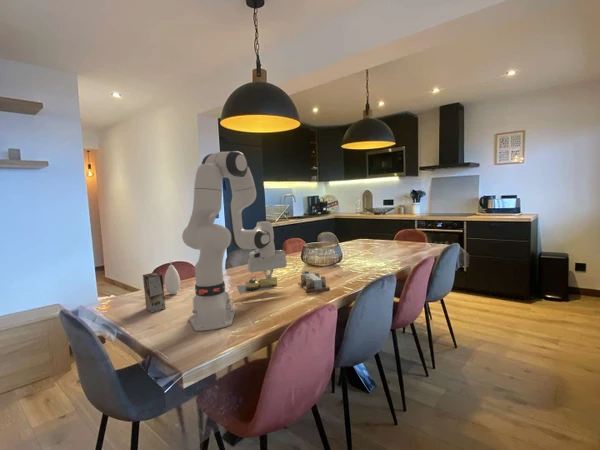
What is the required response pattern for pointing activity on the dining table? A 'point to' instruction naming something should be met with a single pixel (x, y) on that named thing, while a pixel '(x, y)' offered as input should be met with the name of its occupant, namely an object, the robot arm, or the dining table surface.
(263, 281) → the khaki elongated piece
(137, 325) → the dining table surface
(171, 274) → the white teardrop candle
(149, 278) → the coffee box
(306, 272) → the grey rectangular bar
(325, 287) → the cradle
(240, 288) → the dial base
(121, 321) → the dining table surface
